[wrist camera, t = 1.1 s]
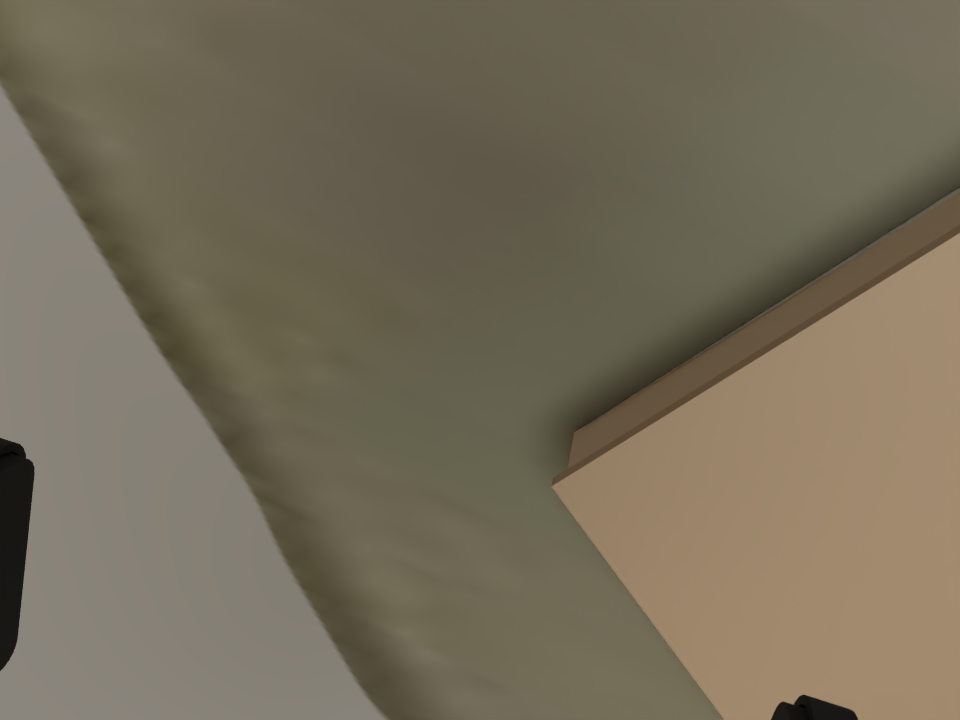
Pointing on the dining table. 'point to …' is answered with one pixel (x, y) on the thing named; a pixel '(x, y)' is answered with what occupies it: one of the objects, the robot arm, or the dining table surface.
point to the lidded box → (769, 325)
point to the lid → (805, 508)
